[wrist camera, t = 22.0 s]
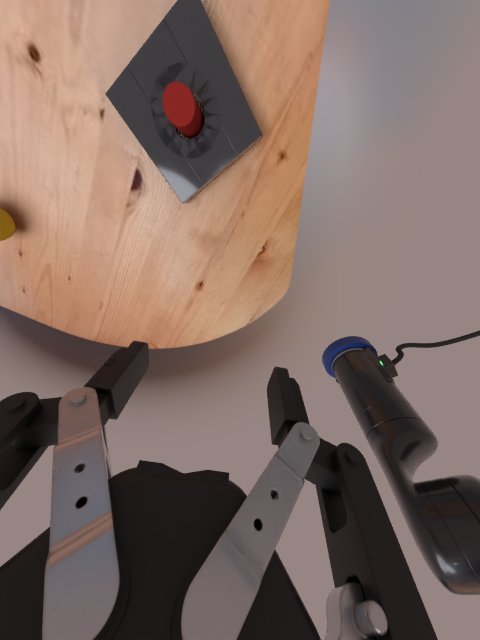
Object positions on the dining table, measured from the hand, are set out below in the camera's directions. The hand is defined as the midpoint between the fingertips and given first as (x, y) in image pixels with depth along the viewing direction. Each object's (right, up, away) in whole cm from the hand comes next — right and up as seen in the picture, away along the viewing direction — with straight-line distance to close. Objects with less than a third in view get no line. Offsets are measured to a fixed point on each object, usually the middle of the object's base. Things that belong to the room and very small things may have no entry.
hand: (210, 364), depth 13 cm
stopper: (-5, +30, +15) cm, 34 cm away
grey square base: (-5, +30, +15) cm, 34 cm away
